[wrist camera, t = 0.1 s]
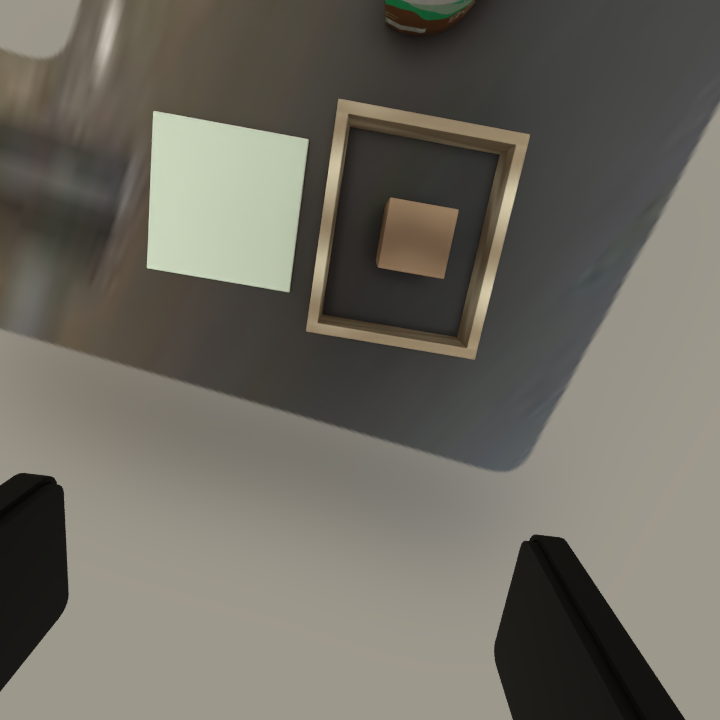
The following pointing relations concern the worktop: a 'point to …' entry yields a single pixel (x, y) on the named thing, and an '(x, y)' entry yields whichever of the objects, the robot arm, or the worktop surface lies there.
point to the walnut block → (415, 237)
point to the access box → (491, 236)
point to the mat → (224, 201)
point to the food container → (425, 15)
